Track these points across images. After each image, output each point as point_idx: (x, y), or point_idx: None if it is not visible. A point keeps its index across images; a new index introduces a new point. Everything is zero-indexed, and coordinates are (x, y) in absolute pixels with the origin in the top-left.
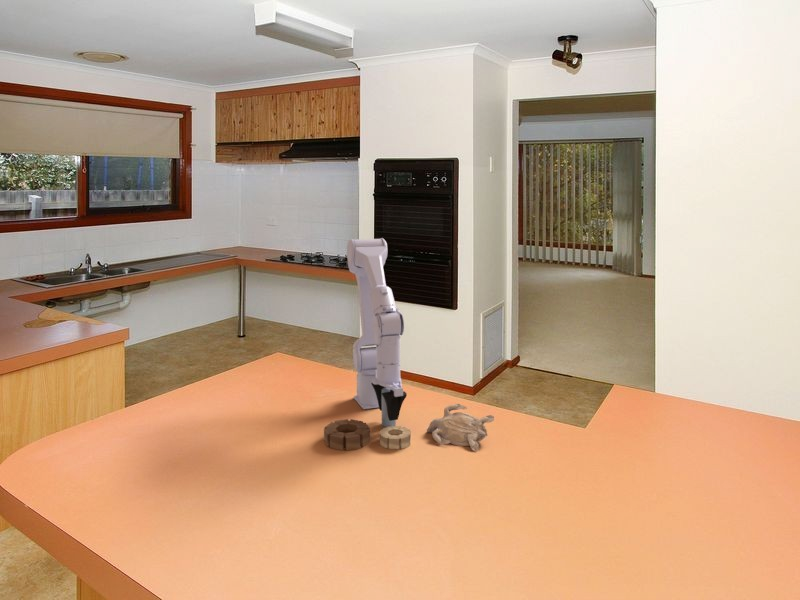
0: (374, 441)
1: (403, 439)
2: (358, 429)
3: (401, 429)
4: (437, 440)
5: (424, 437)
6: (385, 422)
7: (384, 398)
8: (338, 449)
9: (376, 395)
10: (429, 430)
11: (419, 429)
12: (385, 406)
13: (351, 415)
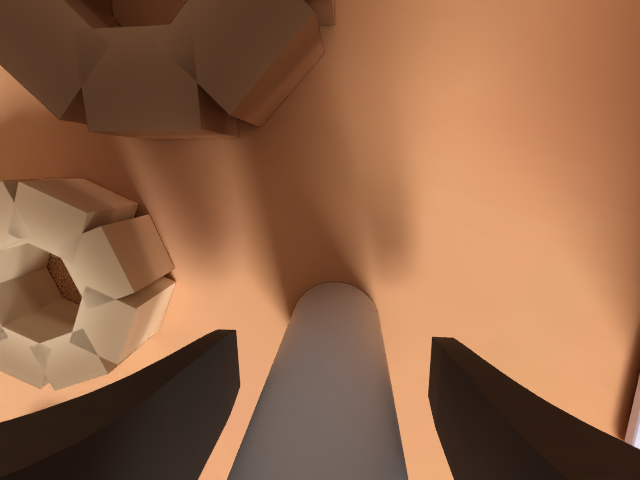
0: (127, 161)
1: None
2: (67, 19)
3: (67, 345)
4: None
5: None
6: (301, 306)
7: (35, 444)
8: None
9: (546, 407)
10: None
11: (218, 442)
12: (271, 381)
13: (613, 134)
